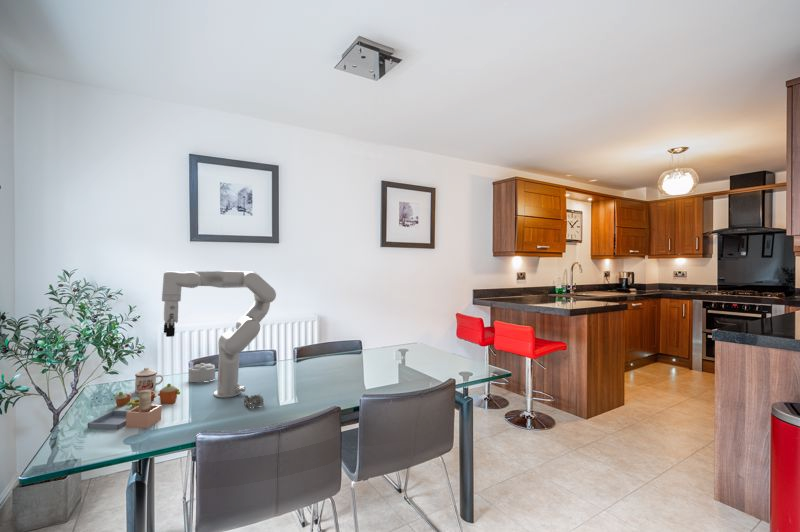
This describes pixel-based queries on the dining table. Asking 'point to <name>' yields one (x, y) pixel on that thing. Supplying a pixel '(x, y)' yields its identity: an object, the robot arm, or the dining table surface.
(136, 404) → the toy tea set
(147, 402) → the dowel
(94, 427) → the tray
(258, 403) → the dark mottled rough lump
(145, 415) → the salmon pink open bin
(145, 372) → the teacup with lid
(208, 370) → the lumpy-topped squat cylinder
